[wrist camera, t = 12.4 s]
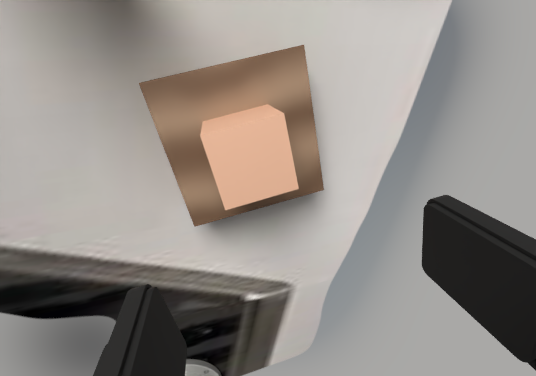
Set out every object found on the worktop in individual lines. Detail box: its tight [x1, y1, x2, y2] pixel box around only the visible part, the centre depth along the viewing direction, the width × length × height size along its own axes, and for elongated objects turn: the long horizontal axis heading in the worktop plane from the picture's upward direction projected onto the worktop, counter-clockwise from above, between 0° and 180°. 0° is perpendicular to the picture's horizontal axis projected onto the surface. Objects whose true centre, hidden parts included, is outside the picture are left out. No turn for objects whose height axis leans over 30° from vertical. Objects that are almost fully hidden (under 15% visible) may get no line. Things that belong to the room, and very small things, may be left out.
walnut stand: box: [139, 45, 324, 226], centre depth 28 cm, size 14×14×5 cm
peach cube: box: [200, 104, 299, 210], centre depth 23 cm, size 6×6×6 cm
